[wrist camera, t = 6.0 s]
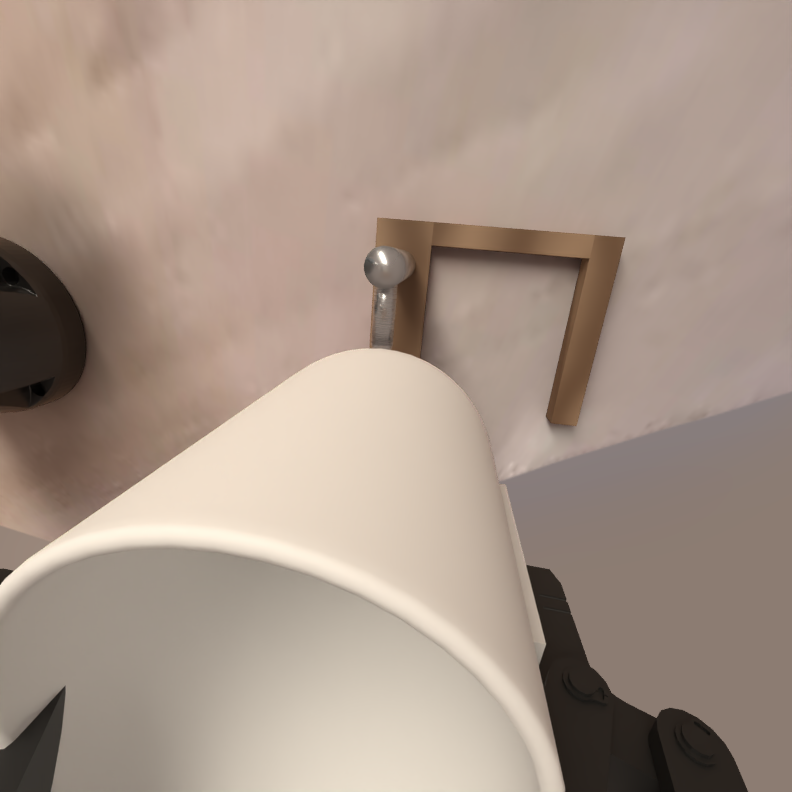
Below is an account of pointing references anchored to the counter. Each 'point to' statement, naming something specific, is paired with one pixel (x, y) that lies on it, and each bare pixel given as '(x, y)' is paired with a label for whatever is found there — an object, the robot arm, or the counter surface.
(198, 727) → the mug
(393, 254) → the hook post
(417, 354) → the brown wooden u-shaped piece
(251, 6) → the counter surface
